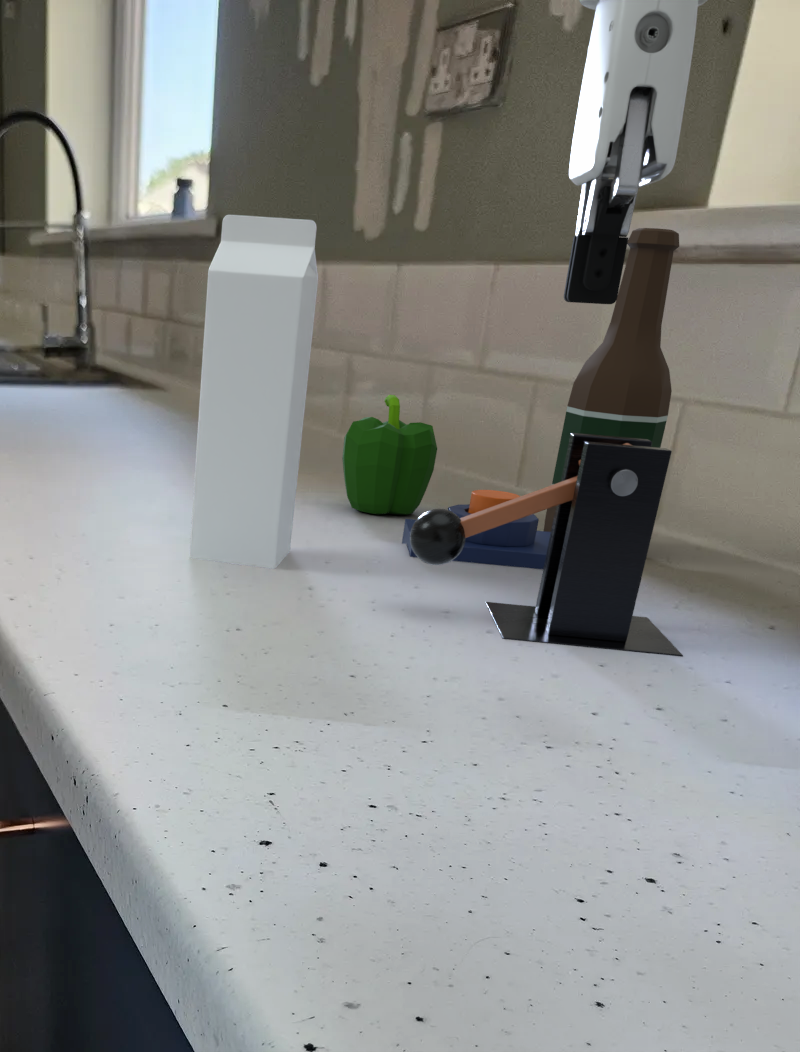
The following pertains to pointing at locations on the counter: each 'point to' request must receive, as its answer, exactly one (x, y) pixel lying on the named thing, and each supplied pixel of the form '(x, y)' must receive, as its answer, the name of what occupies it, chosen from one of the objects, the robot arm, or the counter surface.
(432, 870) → the counter surface
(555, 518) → the bracket
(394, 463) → the bell pepper
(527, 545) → the control block
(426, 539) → the lever
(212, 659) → the counter surface
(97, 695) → the counter surface
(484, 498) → the button
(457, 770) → the counter surface
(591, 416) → the beer bottle
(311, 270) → the milk
